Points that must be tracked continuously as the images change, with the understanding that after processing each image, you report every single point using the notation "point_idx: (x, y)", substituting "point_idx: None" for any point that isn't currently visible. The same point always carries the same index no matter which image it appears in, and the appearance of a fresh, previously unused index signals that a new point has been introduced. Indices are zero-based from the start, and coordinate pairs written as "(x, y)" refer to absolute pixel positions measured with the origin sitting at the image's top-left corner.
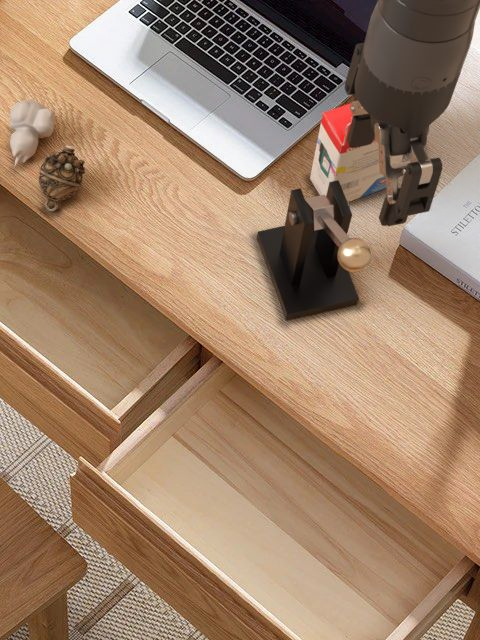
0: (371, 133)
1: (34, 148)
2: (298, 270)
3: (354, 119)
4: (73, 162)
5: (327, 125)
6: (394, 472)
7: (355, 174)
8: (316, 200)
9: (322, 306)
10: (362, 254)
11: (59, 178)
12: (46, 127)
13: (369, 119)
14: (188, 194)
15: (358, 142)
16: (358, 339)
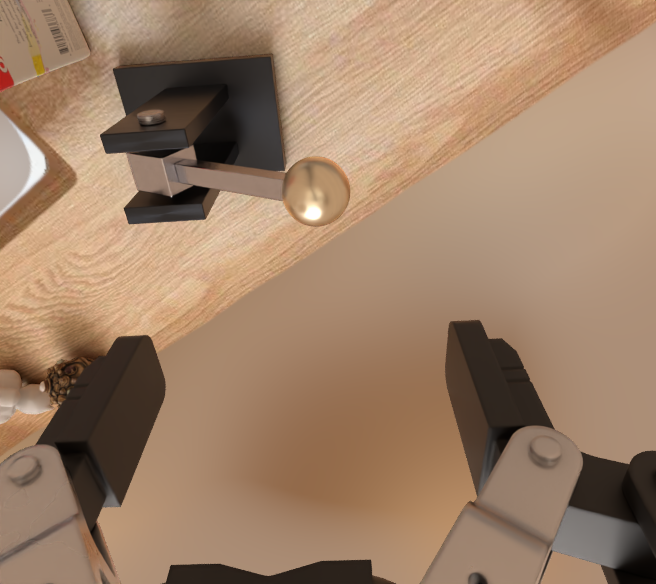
0: (130, 379)
1: (40, 393)
2: (231, 161)
3: (109, 506)
4: (64, 385)
5: None
6: (549, 73)
7: (36, 23)
8: (143, 175)
9: (277, 118)
10: (334, 196)
11: None
12: (14, 400)
13: (104, 468)
14: (82, 243)
15: (154, 385)
16: (331, 68)
